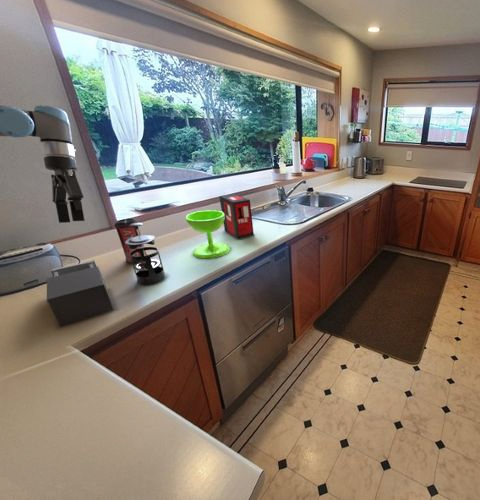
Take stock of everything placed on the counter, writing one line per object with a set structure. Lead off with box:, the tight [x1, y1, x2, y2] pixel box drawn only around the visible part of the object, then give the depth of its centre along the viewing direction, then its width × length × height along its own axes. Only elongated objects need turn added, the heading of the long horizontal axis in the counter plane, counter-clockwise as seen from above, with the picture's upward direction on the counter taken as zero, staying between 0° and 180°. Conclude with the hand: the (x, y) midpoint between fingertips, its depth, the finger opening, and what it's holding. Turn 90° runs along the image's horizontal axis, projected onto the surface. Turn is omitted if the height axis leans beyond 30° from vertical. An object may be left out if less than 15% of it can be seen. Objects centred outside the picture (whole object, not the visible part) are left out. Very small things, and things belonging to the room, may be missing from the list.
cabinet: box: [46, 265, 115, 327], centre depth 91 cm, size 16×13×10 cm
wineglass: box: [185, 209, 231, 259], centre depth 131 cm, size 16×16×18 cm
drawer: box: [50, 259, 97, 277], centre depth 98 cm, size 16×12×8 cm
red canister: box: [114, 218, 148, 264], centre depth 121 cm, size 8×8×18 cm
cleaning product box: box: [218, 193, 255, 240], centre depth 153 cm, size 16×9×20 cm, turn 46°
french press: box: [125, 222, 167, 286], centre depth 106 cm, size 12×9×23 cm
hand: (71, 221), depth 95 cm, fingers open, 13 cm apart
